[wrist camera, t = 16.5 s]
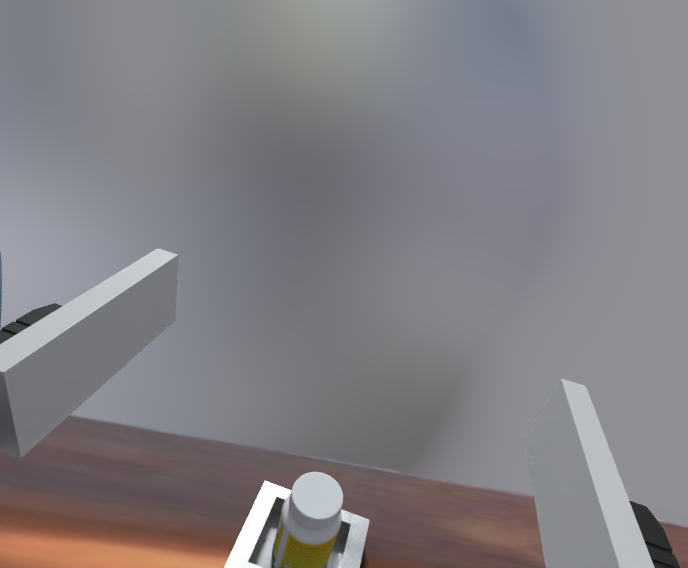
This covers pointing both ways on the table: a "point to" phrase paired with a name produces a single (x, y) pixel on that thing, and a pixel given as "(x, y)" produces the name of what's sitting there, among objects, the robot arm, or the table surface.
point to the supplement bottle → (308, 523)
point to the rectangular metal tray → (261, 526)
